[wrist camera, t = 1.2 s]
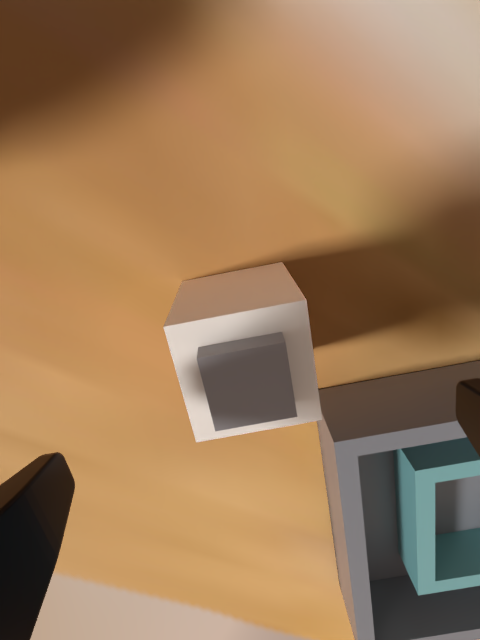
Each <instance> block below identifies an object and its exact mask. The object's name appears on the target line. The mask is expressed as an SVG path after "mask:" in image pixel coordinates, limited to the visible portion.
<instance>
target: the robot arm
mask: <svg viewBox="0 0 480 640" xmlns="http://www.w3.org/2000/svg"><path fill="white" fill-rule="evenodd" d="M455 412H456V418H457V421H458V423H459V425H460V426H461V428H462V429H463V431H464V433H465V434H466V436H467V438H468V439H469V441H470V442H471V444H472V446H473V447H474V449H475V451H476V452H477V454H478V455H479V457H480V378H472V379H467V380H461V381H459V382H458V383H457V385H456V407H455ZM74 489H75V482H74V478H73V476H72V474H71V472H70V469H69V467H68V465H67V463H66V460H65V458H64V456H63V455H62V454H61V453H58V452H56V453H50V454H45V455H41V456H39V457H38V458H37V459H35V460H34V461H33V462H31V463H30V464H28V465H27V466H26V467H24V468H23V469H22V470H20V471H19V472H18V473H16V474H15V475H14V476H12V477H11V478H9V479H8V480H7V481H5V482H4V483H3V484H1V485H0V640H30V638H31V635H32V632H33V629H34V626H35V623H36V621H37V618H38V615H39V612H40V609H41V606H42V603H43V600H44V597H45V594H46V592H47V588H48V586H49V583H50V580H51V577H52V574H53V571H54V568H55V565H56V562H57V559H58V555H59V552H60V548H61V544H62V540H63V536H64V531H65V527H66V523H67V519H68V515H69V511H70V507H71V502H72V498H73V494H74Z"/></svg>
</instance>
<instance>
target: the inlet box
mask: <svg viewBox="0 0 480 640" xmlns="http://www.w3.org/2000/svg"><path fill="white" fill-rule="evenodd" d="M472 378H480V360H479V361H474V362H468V363H463V364H457V365H452V366H446V367H441V368H435V369H430V370H424V371H419V372H413V373H408V374H402V375H397V376H391V377H386V378H380V379H374V380H369V381H363V382H358V383H352V384H347V385H341V386H336V387H330V388H325V389H319V390H318V392H319V399H320V407H321V415H322V420H319V421H317V424H318V431H319V438H320V446H321V453H322V460H323V467H324V475H325V482H326V489H327V497H328V504H329V511H330V518H331V526H332V533H333V540H334V548H335V555H336V562H337V569H338V577H339V584H340V588H341V591H342V595H343V599H344V602H345V606H346V609H347V613H348V617H349V620H350V624H351V627H352V631H353V635H354V638H355V640H477V639H480V457H479V455H478V454H477V452H476V451H475V449H474V447H473V446H472V444H471V442H470V441H469V439H468V438H467V436H466V434H465V433H464V431H463V429H462V428H461V426H460V425H459V423H458V421H457V418H456V412H455V407H456V385H457V383H458V382H459V381H461V380H467V379H472Z"/></svg>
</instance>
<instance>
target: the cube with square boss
mask: <svg viewBox="0 0 480 640" xmlns="http://www.w3.org/2000/svg"><path fill="white" fill-rule="evenodd" d="M164 330H165V334H166V337H167V341H168V344H169V348H170V352H171V355H172V359H173V362H174V366H175V369H176V373H177V376H178V380H179V383H180V387H181V390H182V394H183V397H184V401H185V404H186V408H187V411H188V415H189V418H190V422H191V425H192V429H193V433H194V436H195V440H196V442H201V441H207V440H212V439H218V438H223V437H229V436H235V435H240V434H246V433H252V432H257V431H263V430H268V429H274V428H280V427H285V426H291V425H297V424H302V423H308V422H313V421H319V420H322V415H321V407H320V399H319V392H318V384H317V376H316V369H315V361H314V353H313V345H312V338H311V330H310V322H309V315H308V307H307V300H306V298H305V297H304V295H303V293H302V292H301V290H300V289H299V287H298V286H297V284H296V283H295V281H294V280H293V278H292V276H291V275H290V273H289V272H288V270H287V269H286V267H285V266H284V264H283V262H279V263H274V264H269V265H264V266H259V267H253V268H248V269H243V270H238V271H233V272H227V273H222V274H217V275H212V276H207V277H202V278H196V279H191V280H186V281H182V283H181V285H180V288H179V290H178V292H177V295H176V297H175V300H174V302H173V305H172V307H171V310H170V312H169V315H168V317H167V319H166V322H165V324H164Z"/></svg>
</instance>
